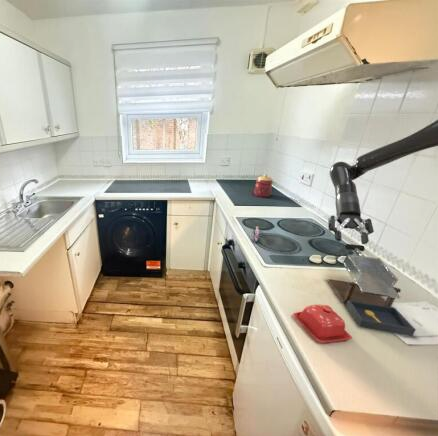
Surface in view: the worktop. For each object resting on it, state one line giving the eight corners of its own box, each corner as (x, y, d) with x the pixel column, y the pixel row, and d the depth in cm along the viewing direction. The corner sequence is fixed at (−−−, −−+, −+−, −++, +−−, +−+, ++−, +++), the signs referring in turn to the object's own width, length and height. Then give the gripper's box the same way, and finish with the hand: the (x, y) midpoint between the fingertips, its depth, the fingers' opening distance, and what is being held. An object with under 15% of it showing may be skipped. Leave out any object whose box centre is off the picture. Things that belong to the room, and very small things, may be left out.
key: (361, 310, 79) (362, 309, 79) (370, 311, 79) (370, 310, 79) (376, 325, 73) (377, 324, 73) (386, 325, 73) (386, 324, 73)
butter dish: (321, 312, 79) (328, 292, 76) (353, 342, 68) (363, 320, 65) (289, 316, 78) (296, 295, 74) (317, 346, 67) (326, 324, 64)
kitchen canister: (262, 198, 192) (266, 176, 185) (250, 194, 203) (253, 173, 196) (273, 196, 197) (278, 175, 190) (261, 192, 208) (264, 172, 201)
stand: (327, 281, 94) (334, 262, 91) (369, 287, 91) (378, 268, 87) (342, 303, 83) (350, 283, 80) (391, 311, 80) (401, 290, 76)
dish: (335, 251, 95) (339, 241, 93) (364, 255, 93) (370, 245, 90) (361, 293, 77) (368, 282, 74) (399, 298, 74) (407, 287, 72)
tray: (392, 313, 79) (395, 307, 78) (412, 336, 70) (415, 329, 69) (345, 305, 82) (347, 300, 81) (359, 326, 74) (362, 320, 73)
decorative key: (256, 233, 140) (256, 243, 122) (254, 233, 140) (254, 242, 122) (259, 222, 138) (259, 230, 120) (256, 222, 139) (256, 230, 121)
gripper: (332, 199, 97) (336, 237, 91) (373, 202, 94) (380, 241, 88) (323, 207, 104) (326, 242, 98) (361, 210, 100) (367, 247, 95)
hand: (351, 242), depth 93 cm, fingers open, 8 cm apart
